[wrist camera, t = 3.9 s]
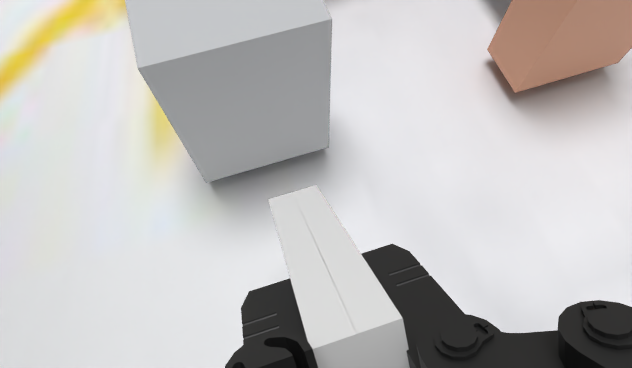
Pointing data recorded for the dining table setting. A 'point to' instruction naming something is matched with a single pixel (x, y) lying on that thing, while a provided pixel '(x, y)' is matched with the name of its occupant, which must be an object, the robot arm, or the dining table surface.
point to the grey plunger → (237, 77)
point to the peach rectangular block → (560, 39)
